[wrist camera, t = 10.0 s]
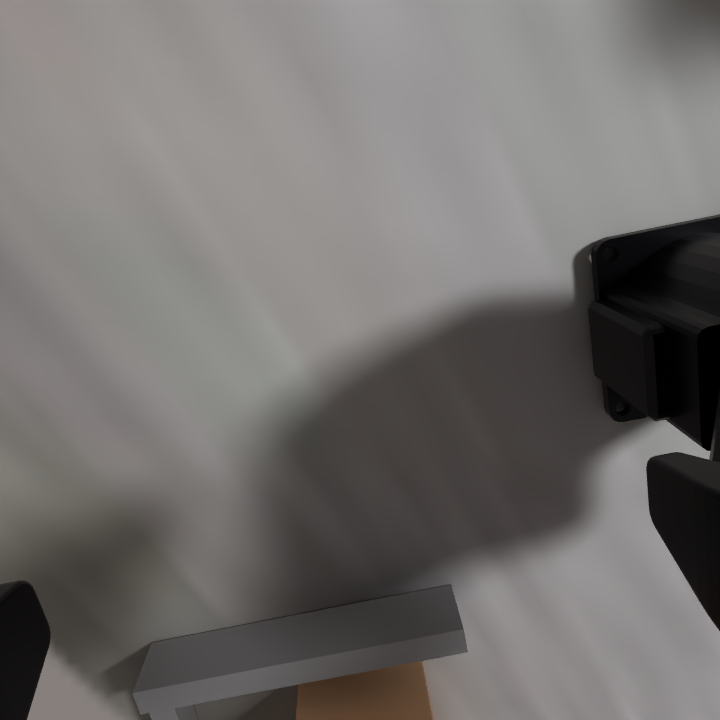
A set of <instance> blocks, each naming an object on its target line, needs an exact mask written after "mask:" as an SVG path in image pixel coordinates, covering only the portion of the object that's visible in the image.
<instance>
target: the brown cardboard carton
mask: <svg viewBox="0 0 720 720" xmlns="http://www.w3.org/2000/svg"><path fill="white" fill-rule="evenodd" d="M296 720H434V717H433V712H432V707H431V702H430V697H429V692H428V687H427V682H426V677H425V672H424V667H423V663H422V661H418V662H413V663H408V664H402V665H397V666H392V667H387V668H382V669H376V670H371V671H366V672H361V673H356V674H350V675H345V676H340V677H335V678H330V679H324V680H319V681H314V682H309V683H304V684H298V693H297V708H296Z"/></svg>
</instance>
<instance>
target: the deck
mask: <svg viewBox="0 0 720 720" xmlns="http://www.w3.org/2000/svg"><path fill="white" fill-rule="evenodd" d="M465 652H468V651H467V645H466V640H465V634H464V629H463V625H462V622H461V618H460V615H459V611H458V608H457V604H456V601H455V597H454V594H453V590H452V587H451V585H446V586H441V587H436V588H431V589H426V590H420V591H415V592H410V593H405V594H400V595H395V596H390V597H384V598H379V599H374V600H369V601H364V602H359V603H353V604H348V605H343V606H338V607H333V608H328V609H323V610H317V611H312V612H307V613H302V614H297V615H292V616H286V617H281V618H276V619H271V620H266V621H261V622H256V623H250V624H245V625H240V626H235V627H230V628H225V629H219V630H214V631H209V632H204V633H199V634H194V635H189V636H183V637H178V638H173V639H168V640H163V641H158V642H152V643H151V645H150V648H149V650H148V653H147V656H146V658H145V661H144V663H143V666H142V669H141V671H140V674H139V676H138V679H137V682H136V684H135V687H134V690H133V692H132V694H133V697H134V699H135V702H136V705H137V707H138V710H139V713H140V715H142V714H147V713H149V715H150V718H151V720H198V718H197V715H196V712H195V710H194V707H193V705H194V704H200V703H205V702H210V701H215V700H220V699H226V698H231V697H236V696H241V695H246V694H252V693H257V692H262V691H267V690H272V689H278V688H283V687H288V686H293V685H298V684H304V683H309V682H314V681H319V680H324V679H330V678H335V677H340V676H345V675H350V674H356V673H361V672H366V671H371V670H376V669H382V668H387V667H392V666H397V665H402V664H408V663H413V662H418V661H423V660H428V659H434V658H439V657H444V656H449V655H455V654H460V653H465Z"/></svg>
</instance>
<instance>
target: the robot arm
mask: <svg viewBox="0 0 720 720" xmlns="http://www.w3.org/2000/svg"><path fill="white" fill-rule="evenodd" d="M610 246H611V247H612V248H613V251H614V252H613V256H612V257H611V258H610V259H609V260H605V259H604V257H603V254H604V251H605V250H606V248H608V247H610ZM591 260H592V272H593V283H594V295H595V301H593V302H592V304H591V305H590V307H589V309H588V311H589V322H590V333H591V344H592V355H593V366H594V374H595V376H596V377H598V378H599V379H600V380H601V381H602V386H603V397H604V408H605V411H606V413H607V414H608V415H609V416H610V417H611V418H612V419H613V420H615V421H618V422H626V421H631V420H636V419H641V418H646V417H649V418H651V419H652V420H653V421H660V420H667V421H668V422H669V423H671V424H672V425H673V426H675V427H676V428H677V429H679V430H680V431H681V432H683V433H684V434H685V435H687V436H688V437H689V438H691V439H692V440H693V441H695V442H696V443H697V444H699V445H700V446H701V447H703V448H704V449H706V450H707V451H711V452H710V459H709V460H707V459H703V458H700V457H696V456H692V455H688V454H684V453H679V452H674V453H669V454H664V455H658V456H654V457H651V458H650V459H649V460H648V462H647V467H646V471H647V486H648V501H649V511H650V516H651V519H652V522H653V524H654V526H655V528H656V529H657V531H658V533H659V534H660V536H661V538H662V540H663V541H664V543H665V545H666V546H667V548H668V550H669V551H670V553H671V555H672V556H673V558H674V560H675V561H676V563H677V565H678V566H679V568H680V570H681V571H682V573H683V575H684V576H685V578H686V580H687V581H688V583H689V585H690V586H691V588H692V590H693V591H694V593H695V595H696V596H697V598H698V600H699V601H700V603H701V604H702V606H703V608H704V609H705V611H706V612H707V614H708V615H709V617H710V618H711V620H712V621H713V622H714V624H715V625H716V627H717V628H718V629H719V631H720V214H719V215H715V216H710V217H705V218H700V219H695V220H690V221H685V222H680V223H675V224H670V225H665V226H660V227H655V228H650V229H645V230H640V231H636V232H631V233H626V234H621V235H616V236H611V237H606V238H603V239H600V240H599V241H598V242H596V243H595V244H594V246H593V248H592V252H591ZM622 402H625V407H624V408H623V410H621V411H616V407H617V406H618V404H619V403H622ZM49 644H50V627H49V624H48V622H47V619H46V617H45V614H44V612H43V609H42V607H41V605H40V602H39V600H38V597H37V595H36V592H35V590H34V588H33V586H32V585H31V584H30V583H29V582H27V581H16V582H10V583H5V584H0V720H27V717H28V713H29V710H30V707H31V703H32V701H33V697H34V694H35V690H36V687H37V684H38V681H39V678H40V673H41V671H42V668H43V664H44V661H45V658H46V654H47V651H48V648H49Z"/></svg>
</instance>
